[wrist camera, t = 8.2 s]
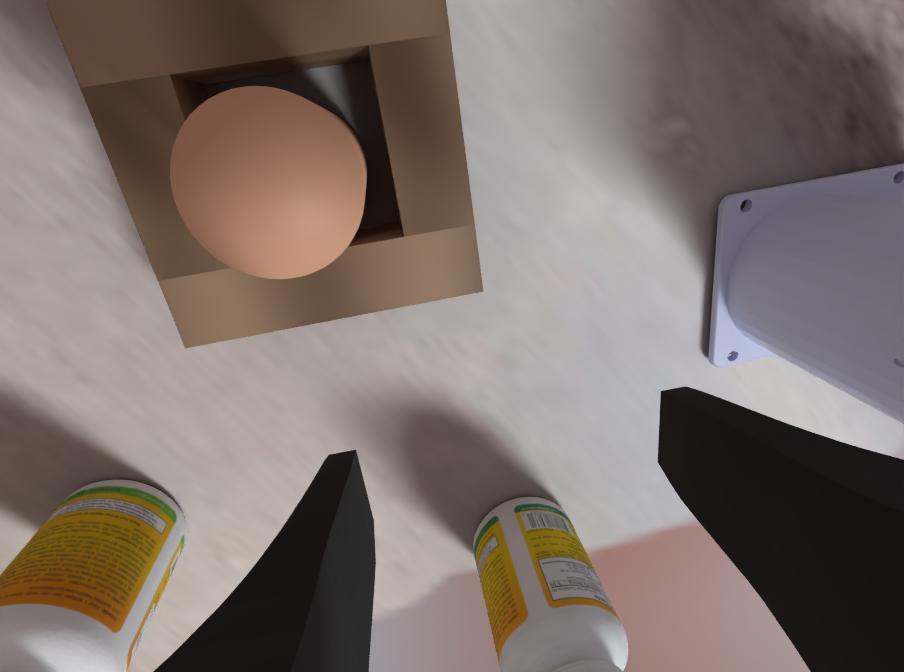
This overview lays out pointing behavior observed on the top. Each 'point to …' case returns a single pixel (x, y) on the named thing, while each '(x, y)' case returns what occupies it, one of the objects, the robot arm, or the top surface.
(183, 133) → the peg
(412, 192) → the socket
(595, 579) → the supplement bottle
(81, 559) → the supplement bottle
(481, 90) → the top surface
